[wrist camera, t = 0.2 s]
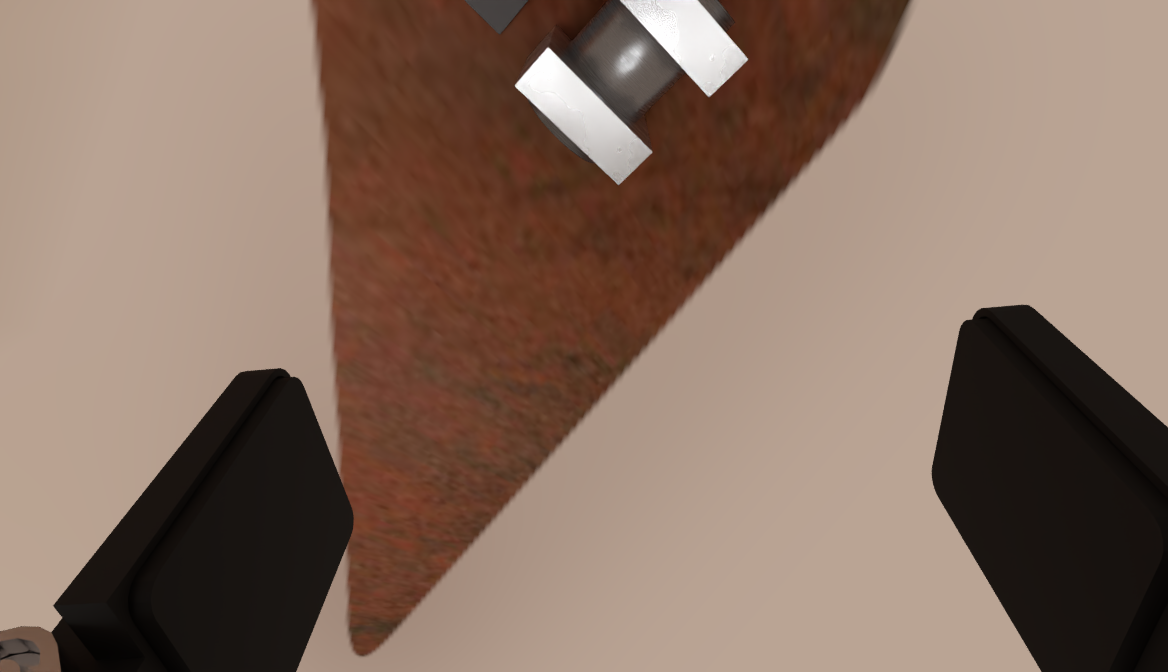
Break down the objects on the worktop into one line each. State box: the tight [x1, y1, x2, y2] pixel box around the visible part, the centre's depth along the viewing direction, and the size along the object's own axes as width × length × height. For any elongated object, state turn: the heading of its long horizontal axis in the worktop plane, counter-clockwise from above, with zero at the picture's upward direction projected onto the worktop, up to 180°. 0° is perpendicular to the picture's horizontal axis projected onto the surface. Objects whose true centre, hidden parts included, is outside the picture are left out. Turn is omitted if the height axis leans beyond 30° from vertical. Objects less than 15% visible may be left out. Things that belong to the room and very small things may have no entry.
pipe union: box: [515, 0, 748, 185], centre depth 32 cm, size 9×6×6 cm
